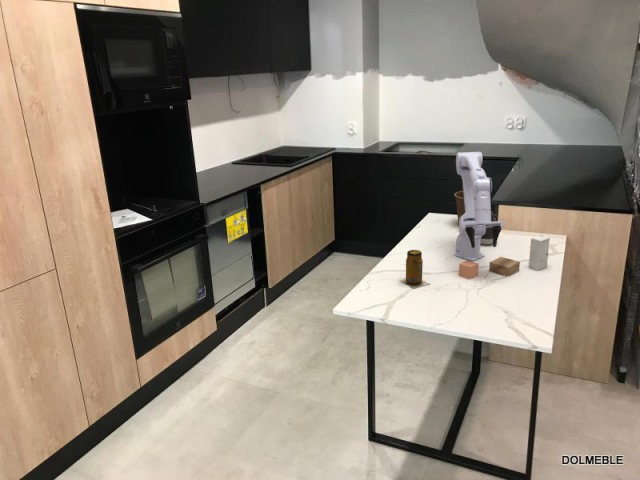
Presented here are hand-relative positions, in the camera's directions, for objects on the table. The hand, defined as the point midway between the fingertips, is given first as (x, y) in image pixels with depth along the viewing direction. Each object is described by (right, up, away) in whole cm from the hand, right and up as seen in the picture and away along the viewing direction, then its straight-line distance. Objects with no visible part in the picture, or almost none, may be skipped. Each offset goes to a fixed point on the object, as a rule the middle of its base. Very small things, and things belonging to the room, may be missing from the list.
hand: (483, 247), depth 186 cm
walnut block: (+10, -10, +8) cm, 16 cm away
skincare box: (+24, -8, +10) cm, 27 cm away
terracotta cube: (-4, -11, +6) cm, 13 cm away
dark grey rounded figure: (+13, +1, +38) cm, 40 cm away
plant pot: (+13, +9, +61) cm, 64 cm away
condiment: (-25, -13, +2) cm, 28 cm away
